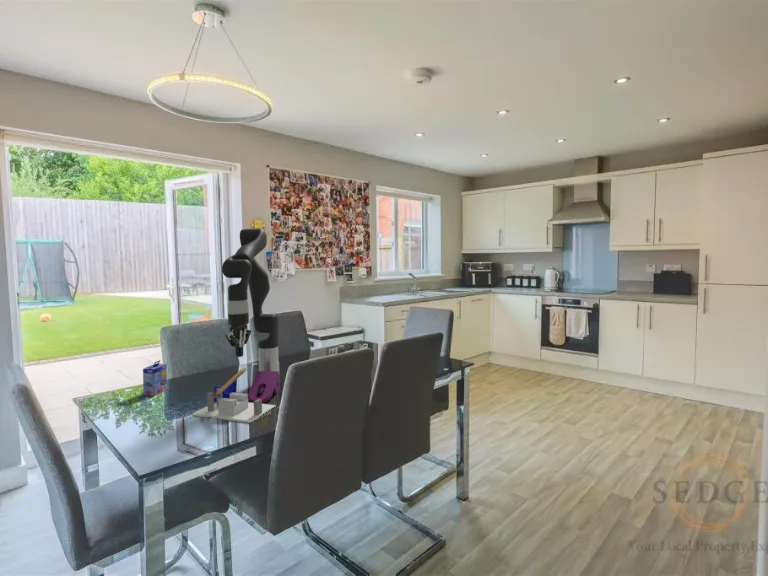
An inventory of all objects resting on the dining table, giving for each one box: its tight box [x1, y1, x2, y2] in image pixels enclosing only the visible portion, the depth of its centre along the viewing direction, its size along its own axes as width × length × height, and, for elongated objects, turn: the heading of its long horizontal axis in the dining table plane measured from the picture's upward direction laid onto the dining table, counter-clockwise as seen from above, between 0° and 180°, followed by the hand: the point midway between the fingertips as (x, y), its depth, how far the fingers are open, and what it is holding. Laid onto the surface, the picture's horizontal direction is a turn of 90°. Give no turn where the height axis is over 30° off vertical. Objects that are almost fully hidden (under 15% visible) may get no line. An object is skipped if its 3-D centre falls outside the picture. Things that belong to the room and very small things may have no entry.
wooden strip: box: [213, 367, 248, 398], centre depth 165 cm, size 19×3×1 cm
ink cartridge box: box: [142, 360, 168, 397], centre depth 190 cm, size 10×6×14 cm, turn 175°
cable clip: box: [213, 380, 238, 402], centre depth 182 cm, size 12×4×6 cm, turn 168°
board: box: [192, 388, 276, 424], centre depth 167 cm, size 17×26×8 cm, turn 73°
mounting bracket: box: [248, 370, 281, 404], centre depth 185 cm, size 9×8×18 cm
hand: (239, 356), depth 163 cm, fingers closed
